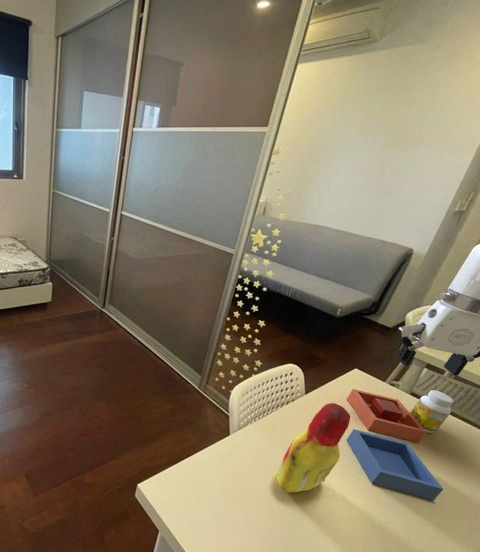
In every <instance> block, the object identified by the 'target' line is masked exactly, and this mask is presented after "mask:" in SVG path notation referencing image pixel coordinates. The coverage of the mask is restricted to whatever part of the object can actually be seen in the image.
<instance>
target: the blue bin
mask: <svg viewBox="0 0 480 552" xmlns="http://www.w3.org/2000/svg"><path fill="white" fill-rule="evenodd" d="M346 441H347V443H348V445H349V447H350V448H351V450H352V452H353V454H354V455H355V457H356V459H357V461H358V462H359V464H360V466H361V468H362V469H363V470H364V472H365V475H366V476H367V478H368V479H369V481H370V483H371V484H374V485H376V486H380V487H383V488H387V489H390V490H395V491H398V492H401V493H405V494H408V495H412V496H415V497H418V498H422V499H426V500H430V501H433V502H434V500H435V499H436V498H438V496H439V495H440V494H441V493H442V492H443V490H444V488H443V487H442V485H441V484H440V483H439V481H438V480H437V479H436V478H435V476H434V475H433V474H432V472H431V471H430V470H429V469H428V467H427V466H426V465H425V464H424V462H423V461H422V459H420V457H419V456H418V455H417V453H416V452H415V451H414V450H413V448H412V447H411V446H410V444H409V443H408V442H405V441H402V440H398V439H393V438H390V437H386V436H382V435H378V434H374V433H370V432H366V431H362V430H359V429H355V428H353V429H352V431H351V432H350V434H349V435H348V437H347V439H346Z"/></svg>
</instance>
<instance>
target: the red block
mask: <svg viewBox="0 0 480 552" xmlns="http://www.w3.org/2000/svg"><path fill="white" fill-rule="evenodd" d="M369 408H370V409H371V411H372V412H373V413H374V415H375V416H376V417H377V418H379V419H383V420H387V421H391V422H395V423H397V422H398V420H399V419H400V418H401V416H402V415H403V414H402V412H401V411H400V410H399V409H398V408H397V407H396V405H395V404H394V403H393V402H389V401H385V400H381V399H377V398H375V399H374V401H373V402H372V404H371V405H370V407H369Z"/></svg>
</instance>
